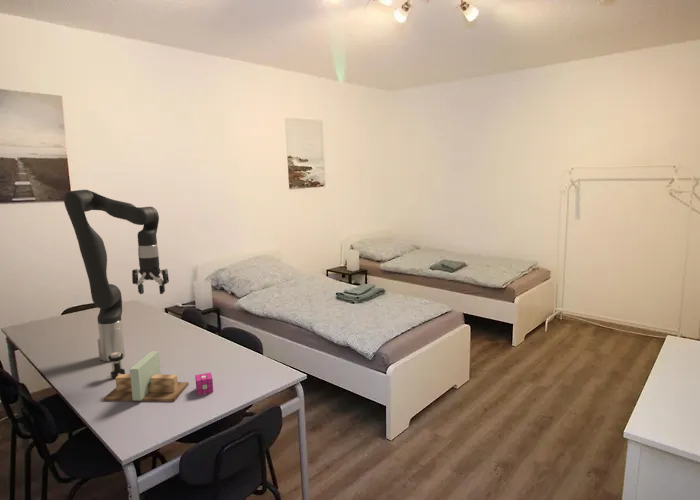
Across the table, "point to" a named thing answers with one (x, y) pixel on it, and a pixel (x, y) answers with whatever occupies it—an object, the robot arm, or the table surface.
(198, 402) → the table surface
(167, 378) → the oak slotted rail
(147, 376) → the sage slotted plate
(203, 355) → the table surface
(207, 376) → the puzzle toy
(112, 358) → the push button
